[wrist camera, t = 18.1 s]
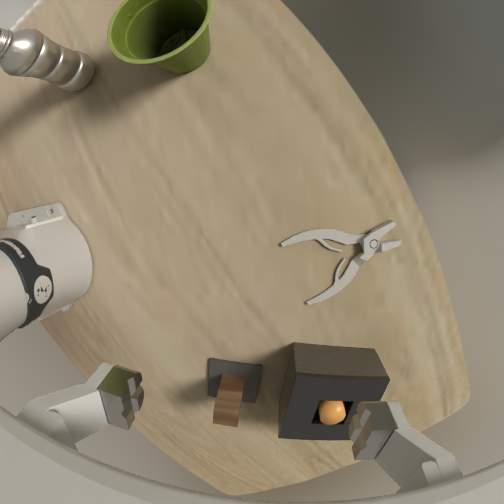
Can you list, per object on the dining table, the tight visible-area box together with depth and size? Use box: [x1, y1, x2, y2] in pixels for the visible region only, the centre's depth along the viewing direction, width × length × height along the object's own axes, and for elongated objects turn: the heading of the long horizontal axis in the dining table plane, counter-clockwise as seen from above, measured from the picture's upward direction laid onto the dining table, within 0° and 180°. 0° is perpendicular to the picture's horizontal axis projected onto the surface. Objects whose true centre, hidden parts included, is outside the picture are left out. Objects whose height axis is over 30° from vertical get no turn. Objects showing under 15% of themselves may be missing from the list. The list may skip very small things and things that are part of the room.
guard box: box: [278, 342, 390, 440], centre depth 39 cm, size 13×13×8 cm
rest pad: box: [208, 358, 262, 403], centre depth 44 cm, size 8×8×1 cm
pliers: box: [281, 220, 401, 305], centre depth 37 cm, size 10×2×15 cm
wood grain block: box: [213, 373, 245, 427], centre depth 40 cm, size 4×4×8 cm
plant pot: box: [107, 0, 213, 74], centre depth 26 cm, size 12×12×11 cm
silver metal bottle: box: [0, 28, 95, 91], centre depth 23 cm, size 6×7×20 cm
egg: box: [318, 400, 346, 425], centre depth 37 cm, size 4×4×6 cm
